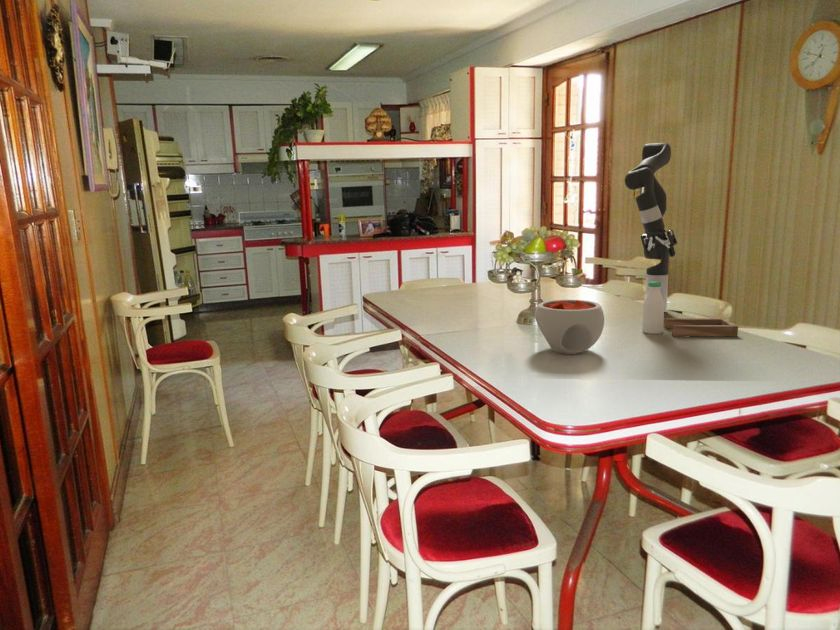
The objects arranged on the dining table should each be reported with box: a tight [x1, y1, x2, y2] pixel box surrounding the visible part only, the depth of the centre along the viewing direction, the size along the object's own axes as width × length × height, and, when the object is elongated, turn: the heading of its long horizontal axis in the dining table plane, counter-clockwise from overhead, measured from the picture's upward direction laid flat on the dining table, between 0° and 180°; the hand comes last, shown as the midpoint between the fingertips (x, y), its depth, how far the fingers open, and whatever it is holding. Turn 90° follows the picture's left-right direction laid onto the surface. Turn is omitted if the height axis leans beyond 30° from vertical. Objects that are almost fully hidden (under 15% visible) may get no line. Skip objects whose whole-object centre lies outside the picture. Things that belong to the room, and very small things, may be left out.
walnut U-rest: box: [663, 317, 739, 338], centre depth 245 cm, size 15×23×4 cm, turn 82°
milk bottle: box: [641, 282, 665, 335], centre depth 246 cm, size 8×8×20 cm
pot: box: [534, 299, 605, 355], centre depth 222 cm, size 24×24×18 cm
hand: (663, 257), depth 249 cm, fingers open, 8 cm apart
